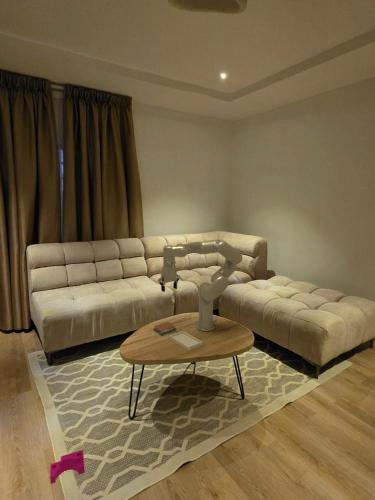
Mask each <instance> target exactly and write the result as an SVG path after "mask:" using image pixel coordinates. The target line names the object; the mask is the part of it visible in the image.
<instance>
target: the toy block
mask: <svg viewBox="0 0 375 500" xmlns="http://www.w3.org/2000/svg"><path fill="white" fill-rule="evenodd" d="M84 456H85V455H84V449H80V450H78V451H75V452H71V453H67V454H64V455H61V456H60V461H56V462H53V463H50V468H49V469H50V470H49V472H50V473H49V474H50V475H49V476H50V477H49V479H50V480H49V481H50V485H52V484H56V481H57V479H58V478H59V477H60V476H61V474H64V471H65V472H67V471H75V472H77V474H78V475H83V474H85V473H86V472H85V471H86V470H85V469H86V468H85V457H84Z"/></svg>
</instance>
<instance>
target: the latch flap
mask: <svg viewBox="0 0 375 500" xmlns="http://www.w3.org/2000/svg"><path fill="white" fill-rule="evenodd" d="M174 327H176V326H175V325H174V324H172V323H171V322H169V321H166V322H162V323H159V324H156V325H154V328H156V329H157V330H159V331H160V332H162V331H165V330H168V329H171V328H174Z"/></svg>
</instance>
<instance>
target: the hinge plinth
mask: <svg viewBox="0 0 375 500" xmlns="http://www.w3.org/2000/svg"><path fill="white" fill-rule="evenodd" d="M153 331H154V332H155V333H157V334H158V335H159V336H161V337H163V336H165V335H168V334H171V333H174V332H176V331H177V326H175V327H174V328H171V329H168V330H165V331H162V332H160V331H159V330H157V329H156V328H155V327H154V328H153Z"/></svg>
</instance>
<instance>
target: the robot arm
mask: <svg viewBox="0 0 375 500" xmlns="http://www.w3.org/2000/svg"><path fill="white" fill-rule="evenodd" d="M162 249H163V252H162V253H163V254H162V257H163V259H162V260H163V261H162V263H163V265H162V267H161V271H160V272H161V273H160V277H159V278H158V279H157V281H158V284H159V285H160V286H161V287H160V290H161V292H164V293H165V292H166V286H165V285H166V284H167V283H172V282H173V283H172V287H173V289H175V290H177V289H178V283H179V282H178V281H180V278H181V276H180V275H179V274H178V273H177V272H178V271H177V267H176V265H177V262H176V258H185V257H186V256H187V255H188V254H196V255H208V254H217V253H219V255H221V256H222V257H223V258H225V261H224V263H223V264H222V265H221V266H220V268H219V269H217V271H215V272H214V273H213V274H212V275H211V276H210V282H211V283H209V282H202V283H200V284H199V286H198V289H197V290H198V323H197V324H196V327H195V328H196V329H197V330H199V331H201V332H211V331H213V330H215V328H216V327H215V324H216V323H218V320H217V319H214V318H213V315H214V313H213V312H214V309H213V308H214V300H216V299H217V298H218V297H219V296H220V295H221V294H222V293H224V292H225V291H226V289H228V287H229V285H230V281H229V278H230V277H231V276H232V275H233V274H234V273H235V271H236V269H237V265H239V264H241V263H242V261H243V254H242V253H241V252H240V251H238V250H237V249H236V248H235V247H233V246H232V245H231V244H229V243H228V242H227V241H225V240H223V239H212V240H211V239H210V240H204V241H192V242H191V241H190V242H182V243H177V244H176V245H170V244H169V245H164V246H163V248H162Z"/></svg>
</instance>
